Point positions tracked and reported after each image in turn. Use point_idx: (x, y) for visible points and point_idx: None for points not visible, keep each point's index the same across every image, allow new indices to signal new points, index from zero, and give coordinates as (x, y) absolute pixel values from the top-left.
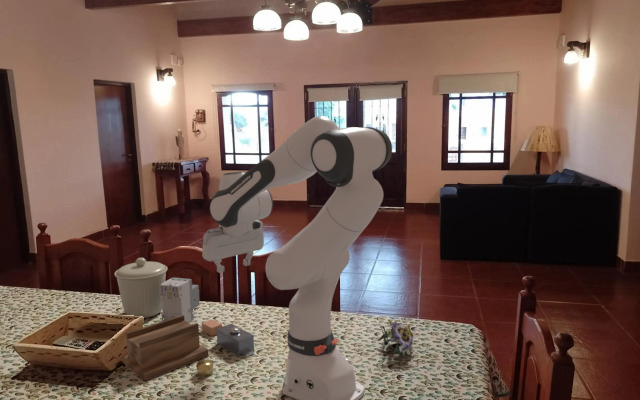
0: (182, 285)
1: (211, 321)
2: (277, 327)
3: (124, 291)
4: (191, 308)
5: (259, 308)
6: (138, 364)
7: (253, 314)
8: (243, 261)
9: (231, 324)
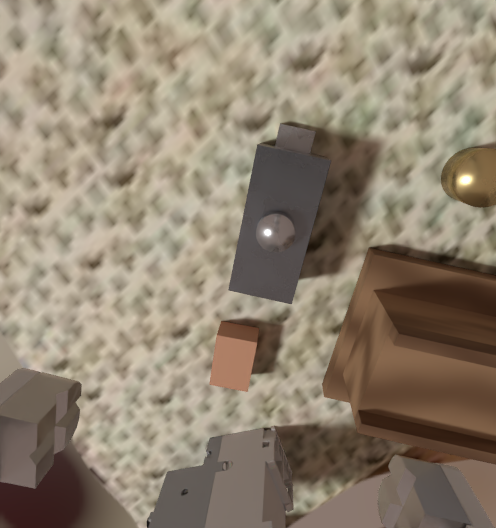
0: None
1: (221, 374)
2: (82, 191)
3: None
4: (211, 469)
5: (26, 335)
6: None
7: (70, 323)
8: (52, 459)
9: (233, 284)
